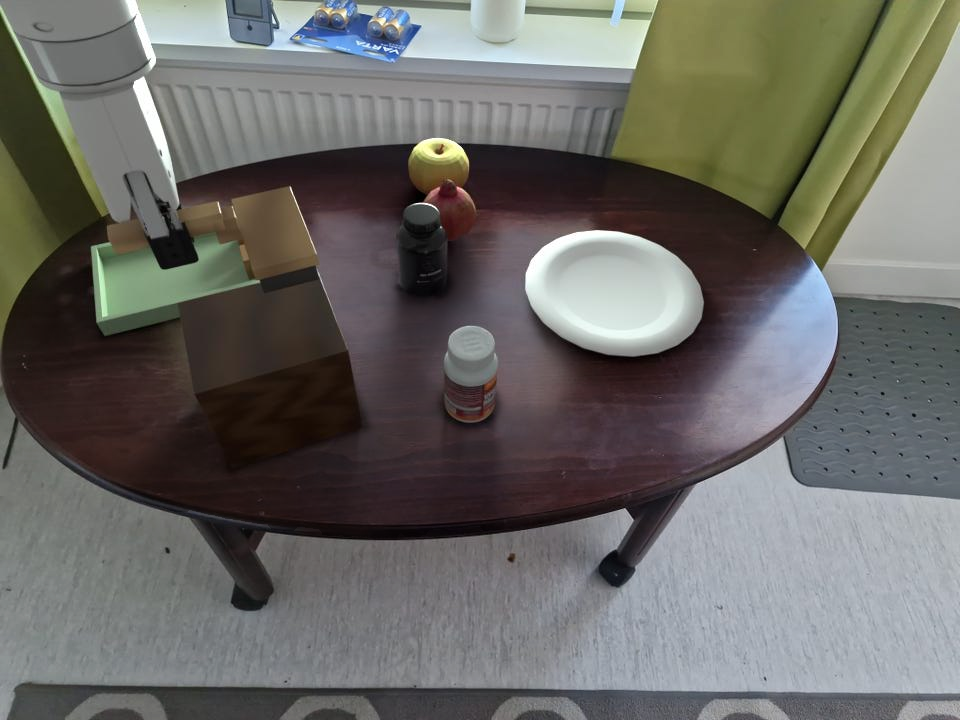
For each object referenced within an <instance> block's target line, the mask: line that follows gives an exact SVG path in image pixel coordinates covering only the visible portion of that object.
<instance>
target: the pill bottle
mask: <svg viewBox="0 0 960 720" xmlns="http://www.w3.org/2000/svg"><path fill="white" fill-rule="evenodd" d="M495 349H496V342H495V339H494V337H493V335H492V333H490V332H489V331H488V330H486V328H483V327H481V326H476V325H466V326H461V327H459V328H457V329H456V330H454V331H453V332H452V333H451V334H450V336H449V338H448V340H447V352H446V354H445V355H444V358H443V379H444V380H443V382H444V385H443V388H444V391H443V392H444V394H443V395H444V406H445V409H446V411H447V412H448V414H449V415H450V416H451V417H452V418H454V419H455V420H457V421H459V422H462V423H468V424H469V423H470V424H473V423H478V422H481V421H483V420H486V419H487V418H488V417H489V416H490V415H491V413H493V410H494V409H495V404H496V394H497V384H498V383H497V381H498V373H499V372H498V371H499V360H498V356H497V354H496V351H495Z"/></svg>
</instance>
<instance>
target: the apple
mask: <svg viewBox="0 0 960 720" xmlns="http://www.w3.org/2000/svg"><path fill="white" fill-rule="evenodd" d="M407 162H408V163H407V165H408V174H409V179H410V181H411V182H412V183H413V185H414V187H415V188H416V189H417V190H418V191H419V192H421V193H422V194H423V195H426V196H428V195H429V193H430V192H431V191H433V190H435V189H437V188H439V187H440V186H441V184H442V181H444V180H451V181H453V182H454V183H455V184H456V186H457V187H459V188H461V189H463V187H464V185H465V184H466V182H467V181H468V180H469V171H470V161H469V158H468V156H467V154H466V152H465V150H464V149H463V148H462V146H461V145H459V143H456V141H452V140H451V139H450V140H449V139H447V138H440V137H436V138H429V139H425V140H422V141H420V142H419V143H418V144H417V145H416V146H414V147H413V150H412V152H411V153H410V156H409V158H408V161H407Z"/></svg>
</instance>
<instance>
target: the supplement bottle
mask: <svg viewBox="0 0 960 720" xmlns="http://www.w3.org/2000/svg"><path fill="white" fill-rule="evenodd" d="M395 241H396V242H395V243H396V257H397V259H396V260H397V271H398V272H397V275H398V283H399V286H400V288H401V289H402V290H403V291H404V292H405V293H407V294H408V295H410V296H412V297H418V298H429V297H433V296H435V295H438V294H439V293H441V292H442V291H443V290H444V288H445V287H446V284H447V280H448V242H449V241H448V239H447V233H446V231H445V229H444V228H443V226H442V225H441V222H440V213H439V211H438V209H437V208H436V207H434V206H432V205H429V204H425V203H423V202H418V203H413V204H410V205H409V206H407V207H406V208H405V209H404V210H403V213H402V225H400V227H399V228H398V230H397V233H396V240H395Z"/></svg>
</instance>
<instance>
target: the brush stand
mask: <svg viewBox="0 0 960 720" xmlns="http://www.w3.org/2000/svg"><path fill="white" fill-rule="evenodd" d="M317 273H318V277H319V279H318V280H314V281H310V282H307V283H303V284H299V285H295V286H291V287H288V288H284V289H280V290H276V291H273V292H269V293H264V292H263V289H262V286H261V283H256V284H252V285H248V286H244V287H239V288H235V289H231V290H227V291H223V292H219V293H215V294H211V295H207V296H203V297H199V298H195V299H191V300H186V301H182V302H178V308H179V314H180V317H179V320H180V324H181V329H182V330H181V331H182V335H183V341H184V347H185V351H186V357H187V363H188V368H189V373H190V378H191V384H192V388H193V389H192V390H193V395H194V396H195V398H196V400H197V402H198V404H199V407H200V408H201V410H202V412H203V414H204V416H205V418H206V421H207V422H208V423H209V425H210V428H211V429H212V431H213V433H214V435H215V437H216V439H217V441H218V443H219V444H220V447H221V449H222V451H223V453H224V455H225V457H226V459H227V461H228V462H229V463H228V464H229V465H230V466H231V468H232V469H235V468H238V467H241V466H245V465H248V464H251V463H254V462H256V461H260V460H263V459H266V458H270V457H273V456H276V455H280V454H283V453H285V452H289V451H291V450H295V449H298V448H301V447H305V446H307V445H310V444H313V443H317V442H320V441H323V440H326V439H329V438H333V437H336V436H339V435H342V434H345V433H348V432H352V431H354V430H357V429H360V428H363V427H364V426H363V421H362V416H361V410H360V405H359V400H358V395H357V388H356V383H355V379H354V374H353V373H354V372H353V368H352V363H351V357H350V351H349V348H348V346H347V342H346V340H345V338H344V335H343V333H342V330H341V327H340V325H339V322H338V320H337V318H336V314H335V312H334V310H333V306H332V304H331V301H330V299H329V297H328V294H327V291H326V289H325V286H324V284H323V281H322V278H321V275H320V273H319V271H318V269H317Z"/></svg>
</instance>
